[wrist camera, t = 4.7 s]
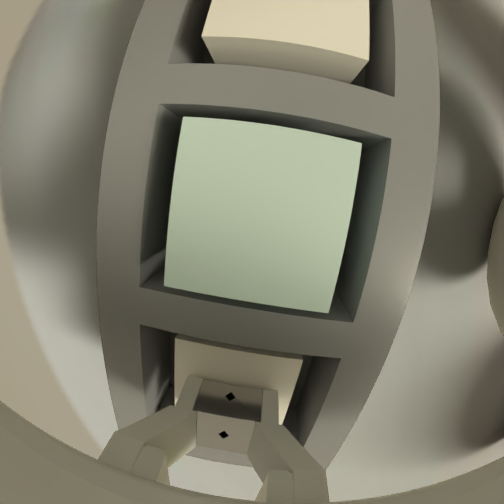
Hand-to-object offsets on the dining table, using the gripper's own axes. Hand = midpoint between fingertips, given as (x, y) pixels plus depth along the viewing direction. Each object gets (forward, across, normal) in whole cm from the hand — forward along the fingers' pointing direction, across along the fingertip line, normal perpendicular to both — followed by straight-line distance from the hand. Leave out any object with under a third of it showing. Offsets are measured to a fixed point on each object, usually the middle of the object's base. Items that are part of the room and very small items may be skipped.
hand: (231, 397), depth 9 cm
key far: (+2, 0, 0) cm, 2 cm away
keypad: (+5, 0, -6) cm, 8 cm away
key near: (+1, 0, -12) cm, 12 cm away
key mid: (+1, 0, -6) cm, 6 cm away
